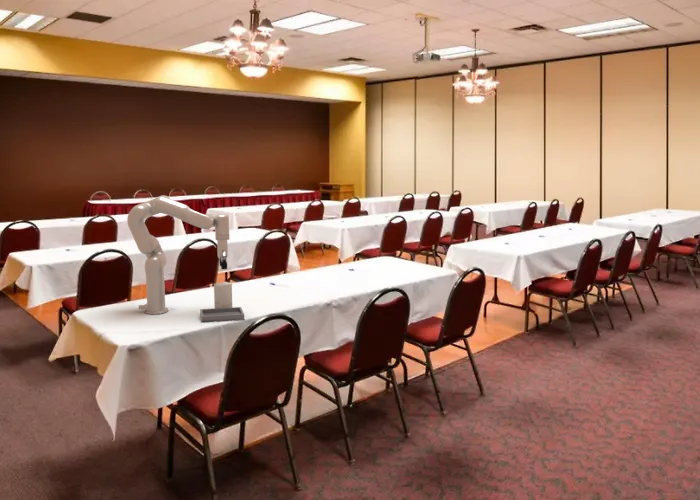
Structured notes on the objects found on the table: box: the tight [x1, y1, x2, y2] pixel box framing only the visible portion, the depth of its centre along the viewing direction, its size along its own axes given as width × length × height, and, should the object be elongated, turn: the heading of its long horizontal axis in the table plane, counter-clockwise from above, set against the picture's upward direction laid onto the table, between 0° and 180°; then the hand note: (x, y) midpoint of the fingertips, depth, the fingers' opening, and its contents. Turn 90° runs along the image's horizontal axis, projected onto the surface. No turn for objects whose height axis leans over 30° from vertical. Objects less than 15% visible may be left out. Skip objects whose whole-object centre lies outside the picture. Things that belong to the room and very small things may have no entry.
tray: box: [199, 306, 245, 323], centre depth 330 cm, size 22×16×3 cm
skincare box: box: [213, 281, 233, 308], centre depth 343 cm, size 8×7×16 cm
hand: (223, 267), depth 340 cm, fingers open, 9 cm apart
